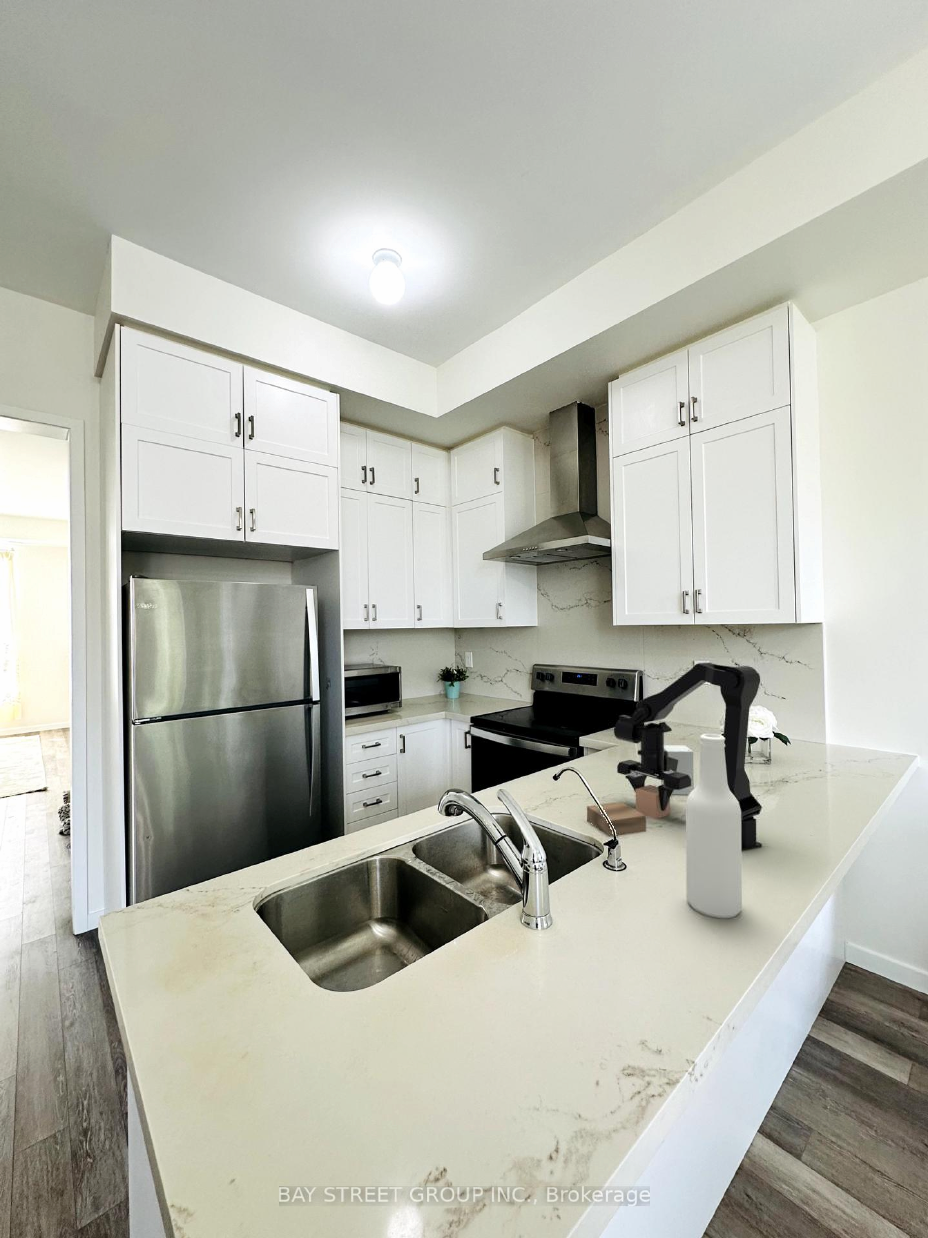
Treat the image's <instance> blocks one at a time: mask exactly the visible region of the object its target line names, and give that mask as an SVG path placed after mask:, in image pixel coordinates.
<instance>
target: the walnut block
mask: <svg viewBox="0 0 928 1238" xmlns="http://www.w3.org/2000/svg"><path fill="white" fill-rule="evenodd" d="M596 805H597V804H595V805H588V806H586V821H587V822H588V821H589V822H590V823H589V824H591V823H592V824H593V825H592V824H591V825H592V826H594V827H595V826H596V827H595V828H597V829H598V828H599V829H598V830H599V831H600V832H602V833H604V835H606V836H607V837H614V836H613V834H612V830H611V829H610V826H609V823H607V821H606V819H605V817H603V814H601V812H600V809H599V808H598V806H596ZM600 805H601V806H602V807H603V810H605V812H606V814H607V816H608V817H609V819H610V821H611V823H612V825H613V826H614V829H615V830H616V834H617V835H616V836H621V835H622V836H623V835H628V834H635V833H641V832H646V831H647V816H646V815H644V814H642V813H640V812H638V811H637V810H636V808H633V807H631V806H630V805H628V804H626V803H624V802H623V801H618V802H617V801H616V802H611V803H602V804H600Z"/></svg>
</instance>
